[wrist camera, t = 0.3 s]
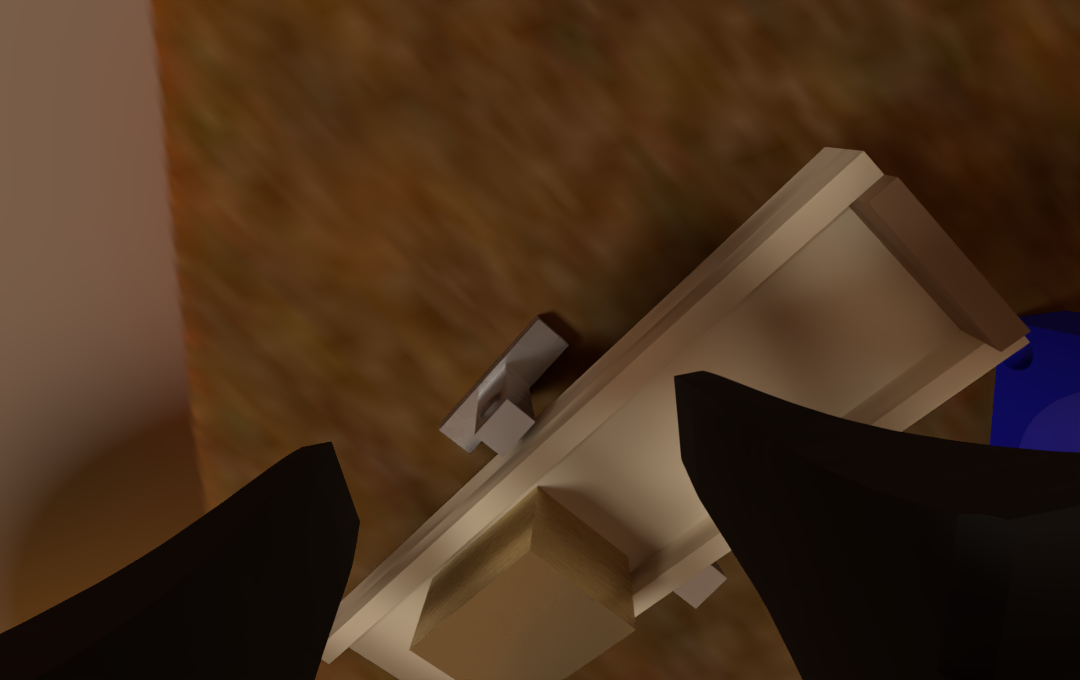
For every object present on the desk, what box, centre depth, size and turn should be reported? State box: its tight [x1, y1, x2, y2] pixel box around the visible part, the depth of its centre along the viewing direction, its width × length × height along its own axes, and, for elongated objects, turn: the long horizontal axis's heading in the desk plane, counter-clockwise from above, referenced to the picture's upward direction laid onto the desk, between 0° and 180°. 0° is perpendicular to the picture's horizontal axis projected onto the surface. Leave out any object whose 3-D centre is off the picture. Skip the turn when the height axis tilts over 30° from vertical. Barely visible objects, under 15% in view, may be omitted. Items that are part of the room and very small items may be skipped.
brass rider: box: [409, 486, 636, 680], centre depth 18 cm, size 6×4×3 cm
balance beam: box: [322, 147, 1031, 680], centre depth 18 cm, size 25×7×3 cm, turn 138°
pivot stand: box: [439, 315, 727, 609], centre depth 21 cm, size 6×11×5 cm, turn 48°
